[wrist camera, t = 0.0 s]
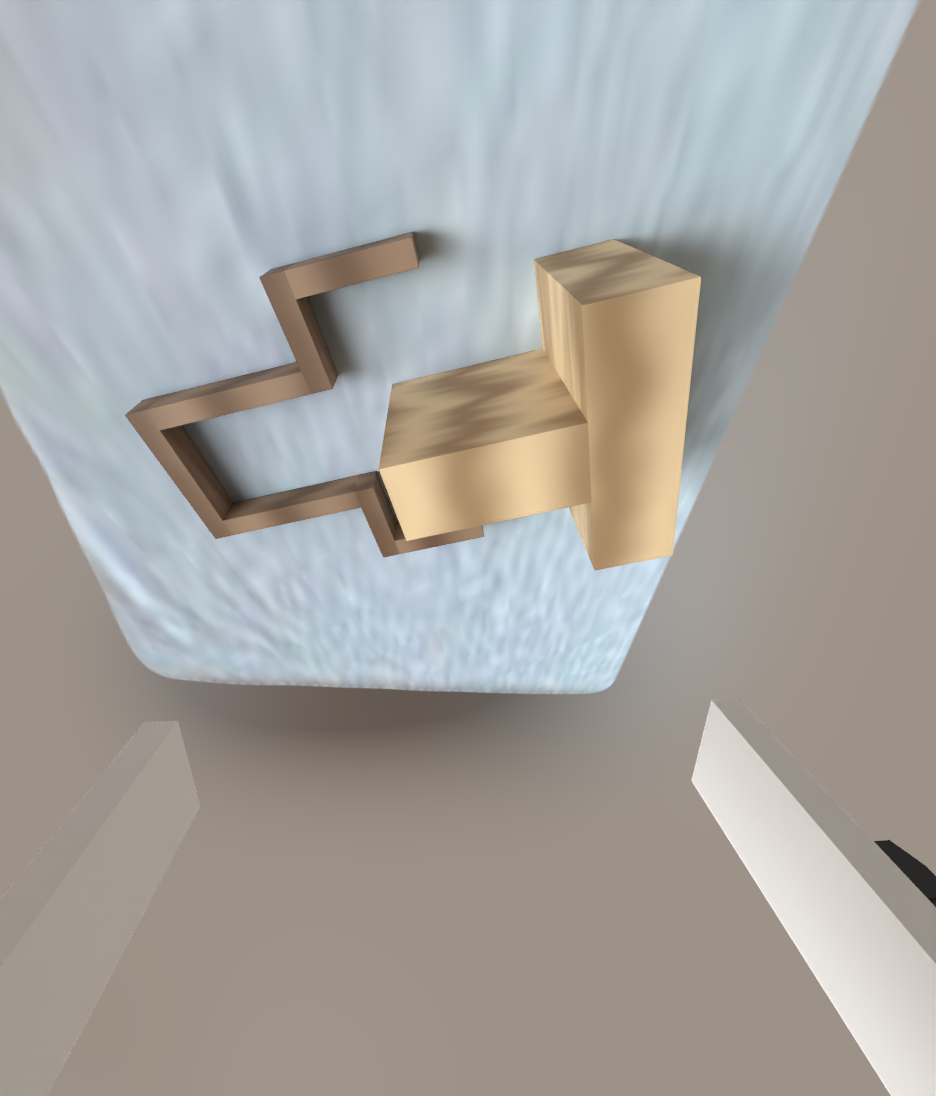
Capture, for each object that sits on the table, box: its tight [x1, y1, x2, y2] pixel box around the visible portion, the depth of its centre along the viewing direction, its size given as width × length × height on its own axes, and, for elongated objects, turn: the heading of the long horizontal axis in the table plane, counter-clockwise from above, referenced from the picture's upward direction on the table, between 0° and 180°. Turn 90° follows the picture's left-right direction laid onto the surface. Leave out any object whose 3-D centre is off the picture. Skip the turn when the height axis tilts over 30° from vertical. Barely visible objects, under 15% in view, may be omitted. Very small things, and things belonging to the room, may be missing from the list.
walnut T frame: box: [125, 232, 484, 557], centre depth 35 cm, size 22×22×2 cm
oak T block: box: [379, 239, 701, 570], centre depth 30 cm, size 16×16×12 cm
